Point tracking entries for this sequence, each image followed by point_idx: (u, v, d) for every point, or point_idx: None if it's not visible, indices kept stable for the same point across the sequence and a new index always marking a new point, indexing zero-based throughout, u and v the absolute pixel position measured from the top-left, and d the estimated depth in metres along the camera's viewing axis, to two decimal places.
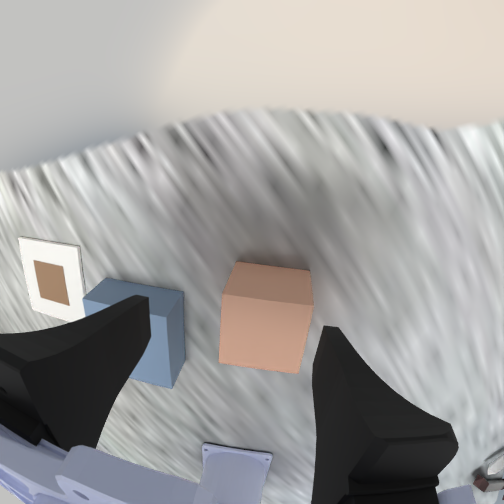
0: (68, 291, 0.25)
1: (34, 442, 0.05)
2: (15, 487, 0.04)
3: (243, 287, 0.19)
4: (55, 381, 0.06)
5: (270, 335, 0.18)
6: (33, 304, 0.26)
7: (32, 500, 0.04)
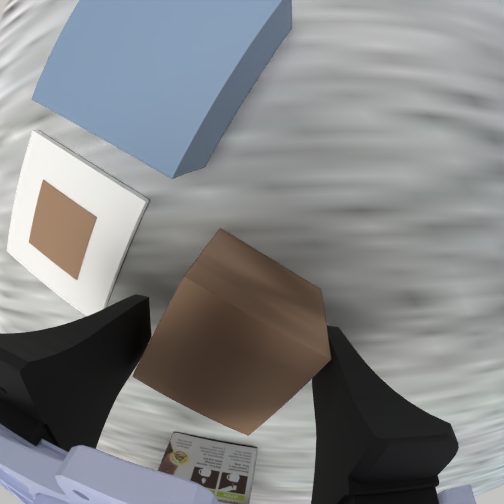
0: (75, 198, 0.13)
1: (34, 442, 0.05)
2: (15, 487, 0.04)
3: None
4: (55, 381, 0.06)
5: None
6: (89, 313, 0.16)
7: (32, 500, 0.04)
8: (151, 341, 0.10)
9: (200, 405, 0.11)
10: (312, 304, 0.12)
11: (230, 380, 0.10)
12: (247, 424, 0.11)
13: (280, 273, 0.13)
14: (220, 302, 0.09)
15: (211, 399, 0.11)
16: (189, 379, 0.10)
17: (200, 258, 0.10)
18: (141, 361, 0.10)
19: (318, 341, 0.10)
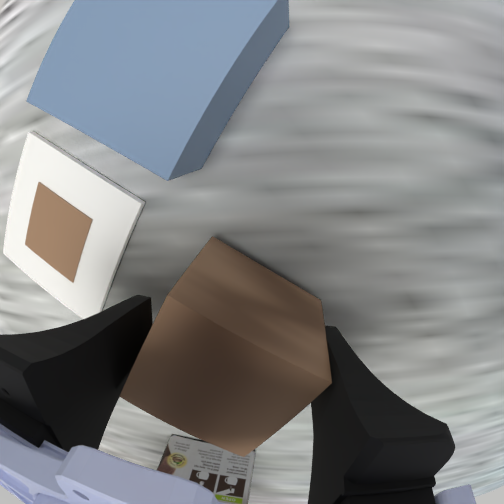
0: (71, 200, 0.13)
1: (34, 442, 0.05)
2: (15, 487, 0.04)
3: None
4: (58, 382, 0.06)
5: None
6: (85, 315, 0.15)
7: (32, 500, 0.04)
8: (136, 362, 0.09)
9: (191, 427, 0.10)
10: (311, 319, 0.11)
11: (223, 403, 0.09)
12: (243, 446, 0.10)
13: (277, 285, 0.12)
14: (208, 323, 0.08)
15: (203, 421, 0.10)
16: (179, 401, 0.09)
17: (187, 272, 0.09)
18: (127, 382, 0.09)
19: (318, 362, 0.09)
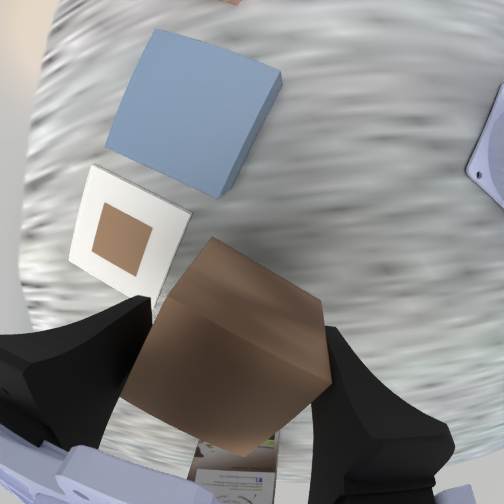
0: (134, 215, 0.20)
1: (34, 442, 0.05)
2: (15, 487, 0.04)
3: None
4: (58, 382, 0.06)
5: None
6: None
7: (32, 500, 0.04)
8: (136, 363, 0.09)
9: (191, 427, 0.10)
10: (311, 320, 0.11)
11: (223, 404, 0.09)
12: (243, 447, 0.10)
13: (277, 286, 0.12)
14: (208, 324, 0.08)
15: (203, 422, 0.10)
16: (179, 402, 0.09)
17: (187, 273, 0.09)
18: (127, 382, 0.09)
19: (318, 363, 0.09)
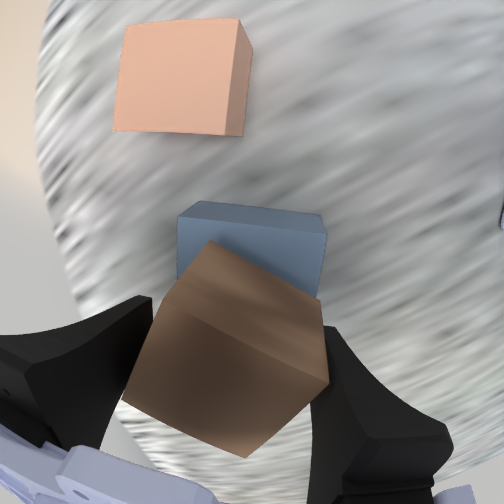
0: None
1: (34, 442, 0.05)
2: (15, 487, 0.04)
3: None
4: (59, 383, 0.06)
5: (166, 63, 0.11)
6: None
7: (32, 500, 0.04)
8: (136, 365, 0.09)
9: (192, 429, 0.10)
10: (310, 320, 0.11)
11: (222, 405, 0.09)
12: (244, 448, 0.10)
13: (275, 287, 0.12)
14: (204, 326, 0.08)
15: (203, 423, 0.10)
16: (179, 404, 0.09)
17: (183, 276, 0.09)
18: (128, 385, 0.09)
19: (315, 363, 0.09)
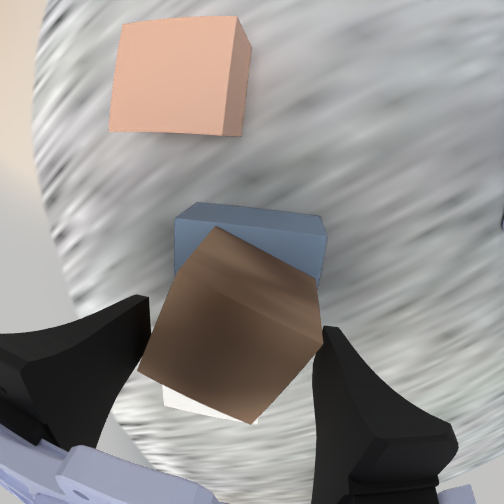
0: None
1: (34, 442, 0.05)
2: (15, 487, 0.04)
3: None
4: (55, 381, 0.06)
5: (163, 62, 0.11)
6: None
7: (32, 500, 0.04)
8: (152, 335, 0.11)
9: (202, 396, 0.11)
10: (306, 293, 0.12)
11: (229, 369, 0.11)
12: (249, 413, 0.11)
13: (274, 265, 0.13)
14: (213, 293, 0.10)
15: (212, 389, 0.11)
16: (190, 370, 0.11)
17: (194, 254, 0.11)
18: (144, 355, 0.11)
19: (310, 327, 0.10)
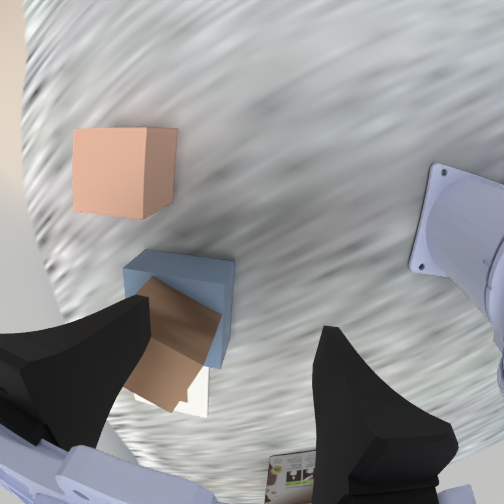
0: None
1: (34, 442, 0.05)
2: (15, 487, 0.04)
3: None
4: (55, 381, 0.06)
5: (102, 164, 0.16)
6: (200, 414, 0.29)
7: (32, 500, 0.04)
8: None
9: (138, 390, 0.17)
10: (206, 328, 0.18)
11: (151, 374, 0.16)
12: (168, 404, 0.17)
13: (188, 307, 0.19)
14: None
15: (144, 386, 0.17)
16: None
17: None
18: None
19: (198, 353, 0.16)
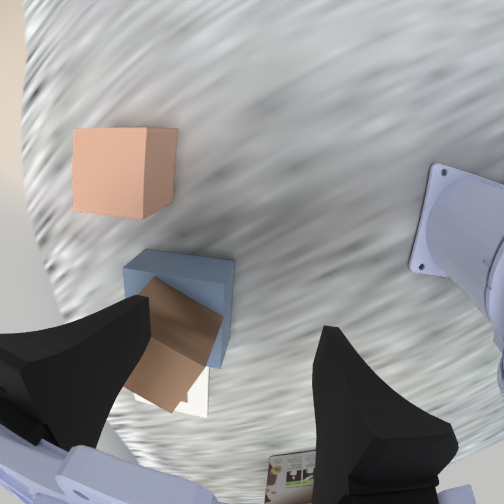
0: None
1: (34, 442, 0.05)
2: (15, 487, 0.04)
3: None
4: (55, 381, 0.06)
5: (102, 164, 0.16)
6: (200, 414, 0.29)
7: (32, 500, 0.04)
8: None
9: (139, 391, 0.17)
10: (208, 330, 0.18)
11: (152, 375, 0.16)
12: (169, 405, 0.17)
13: (190, 308, 0.19)
14: None
15: (144, 386, 0.17)
16: None
17: None
18: None
19: (200, 355, 0.16)
